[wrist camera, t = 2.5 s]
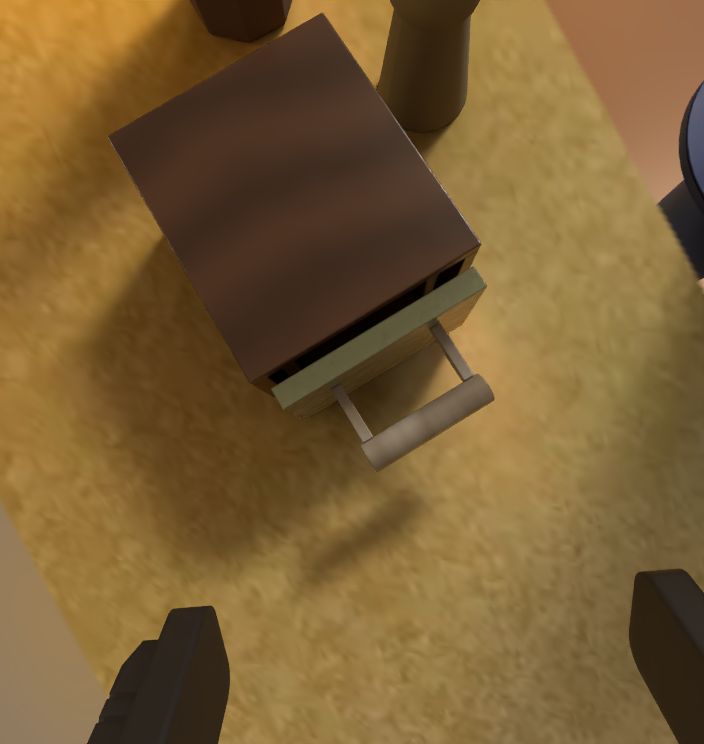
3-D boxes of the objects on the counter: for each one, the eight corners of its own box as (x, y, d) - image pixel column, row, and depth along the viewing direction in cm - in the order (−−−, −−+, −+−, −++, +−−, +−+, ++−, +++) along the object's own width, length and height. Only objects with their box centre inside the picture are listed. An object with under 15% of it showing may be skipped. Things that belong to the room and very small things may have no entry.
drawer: (506, 390, 34) (545, 370, 26) (345, 489, 33) (335, 499, 25) (349, 152, 36) (342, 71, 29) (198, 241, 36) (149, 183, 28)
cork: (452, 40, 38) (482, -125, 27) (478, 118, 37) (520, -21, 26) (367, 64, 38) (363, -91, 27) (391, 142, 37) (397, 13, 26)
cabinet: (454, 300, 35) (482, 243, 26) (284, 403, 35) (249, 383, 25) (336, 123, 38) (323, 11, 28) (175, 217, 37) (106, 135, 28)
